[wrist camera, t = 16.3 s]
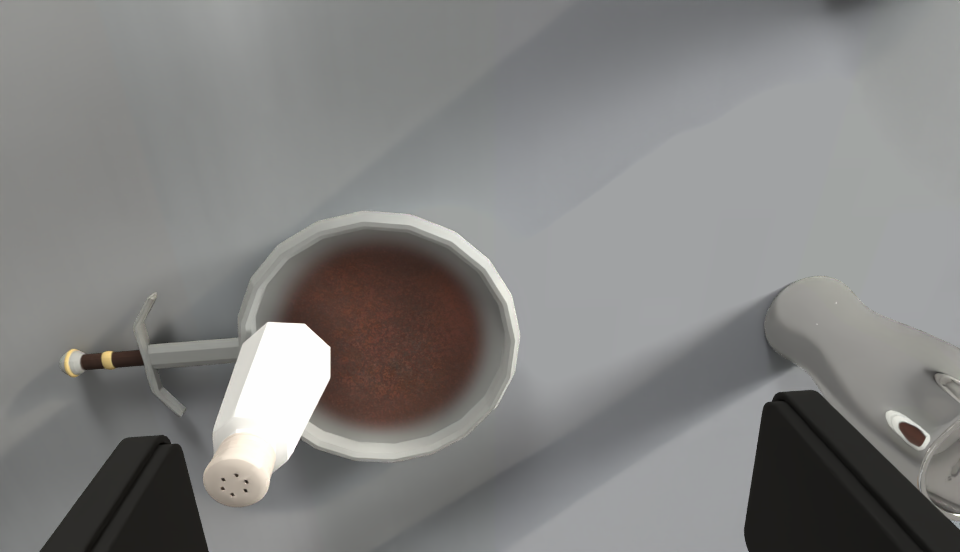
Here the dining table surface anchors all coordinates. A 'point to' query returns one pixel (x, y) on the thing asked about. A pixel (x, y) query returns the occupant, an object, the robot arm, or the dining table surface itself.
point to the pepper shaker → (265, 410)
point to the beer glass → (878, 380)
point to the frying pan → (369, 333)
